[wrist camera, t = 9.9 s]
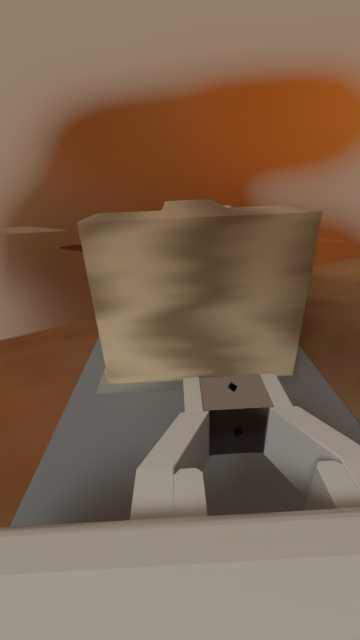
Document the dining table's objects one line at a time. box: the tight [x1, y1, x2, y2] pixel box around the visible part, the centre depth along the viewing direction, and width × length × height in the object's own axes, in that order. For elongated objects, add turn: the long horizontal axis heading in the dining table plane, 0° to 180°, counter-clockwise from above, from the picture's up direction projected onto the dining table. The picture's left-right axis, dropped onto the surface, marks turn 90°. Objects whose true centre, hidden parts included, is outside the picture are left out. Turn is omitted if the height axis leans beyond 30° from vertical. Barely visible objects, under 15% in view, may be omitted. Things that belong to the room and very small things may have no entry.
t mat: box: [10, 337, 360, 527], centre depth 18 cm, size 16×27×1 cm, turn 1°
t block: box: [77, 199, 322, 384], centre depth 21 cm, size 12×12×10 cm
